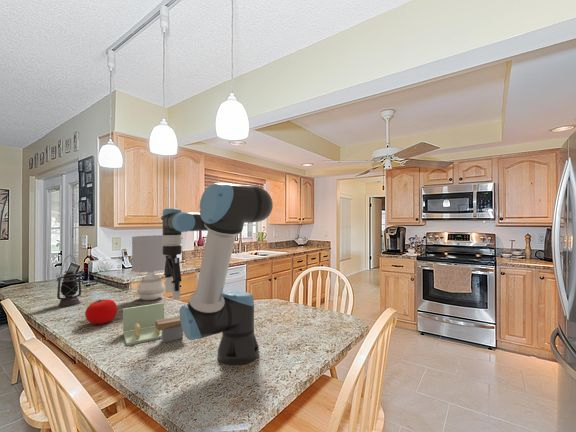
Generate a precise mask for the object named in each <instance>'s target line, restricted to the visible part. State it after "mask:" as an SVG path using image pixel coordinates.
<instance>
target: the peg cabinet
mask: <svg viewBox="0 0 576 432" xmlns="http://www.w3.org/2000/svg"><path fill="white" fill-rule="evenodd" d="M160 319H165V303H164V302H157V303H151V304H146V305H138V306H137V305H136V306H132V307H131V306H130V307H126V308H122V334H123V335H122V336H123V338H124V341H125V346H132V345H136V344H140V343H145V342H149V341H155V340H160V339H162V330H160V331H158V329H157V328H156V320H160ZM159 338H160V339H159Z"/></svg>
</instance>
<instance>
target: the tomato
mask: <svg viewBox="0 0 576 432" xmlns="http://www.w3.org/2000/svg"><path fill="white" fill-rule="evenodd" d="M117 314H118V305H117V303H116V302H115V301H114V300H112V299H98V300H94V301H92V302H90V304H89V305H88V306H87V307H86V309H85V313H84V315H85V316H84V317H85V319H86V320H87V322H89V323H90V324H93V325H103V324H107V323H109V322H111V321H113V320H114V318H115V317H117Z"/></svg>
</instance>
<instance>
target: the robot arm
mask: <svg viewBox="0 0 576 432" xmlns="http://www.w3.org/2000/svg"><path fill="white" fill-rule="evenodd" d="M273 205H274V203H273V199H272V197H271V195H270V193H268V191H267V190H266V189H264V188H262V187H260V186H258V185H257V186H256V185H248V184H247V185H246V184H236V183H234V184H233V183H228V182H216V183H212V184H210V185H209V186H207V187H206V188H205V190H204V191H203V192H202V195H201V198H200V201H199V209H200V210H199V212H185V211H184V212H183V211H182V209H180V208H164V209H163V210H162V216H161V220H162V221H161V222H162V223H161V224H162V244H163V245H164V246H163V255H166V262H165V270H163V271H164V273H163V275H164V277H165V279H164V281H165V283H164V286H165V291H164V294H166V293H167V294H168V293H172V296H171V297H172V300H179V299H181V282H182V274H181V266H180V257H178V256H177V255H182V247H183V246H182V245H181V244H182V240H183V239H184V238H183V236H182V233H187V232H202V231H203V232H205V231H207V234H206V238H205V243H204V248H203V249H204V250H203V253H202V259H201V262H200V263H201V264H200V269H199V274H198V279H197V284H196V288H195V292H193V293H192V294H191V295H190V296H189V299H188V303H187V304H186V303H185V304H183V305H181V306H180V308H179V316H180V322H181V327H182V330H183V335H184V336H185V337H186V338H187V340H189V341H196V340H201V339H204V338H207V337H211V336H215V335H218V334H221V333H222V335H221V339H220V342H219V344H218V349H217V360H218V361H219V362H221V363H223V364H226V365H232V366H233V365H243V364H247V363H251V362H252V361H254V360H257V358H258V357H259V355H260V348H259V343H258V341H257V338H256V335H255V301H254V299H255V298H254V295H253V294H252V293H249V292H247V291H240V290H239V291H238V290H229V291H227V290H226V291H224V288H225V284H226V279H227V277H228V276H227V275H228V271H229V267H230V263H231V258H232V254H233V250H234V246H235V242H236V241H235V240H236V237H237V236H238V235H239V234H242V232H243V229H244V225H245V224H247V223H249V224H250V223H259V222H263V221H264V220H266V219H268V217H269V216H270V215H271V213H272V211H273V208H274V207H273Z"/></svg>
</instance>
